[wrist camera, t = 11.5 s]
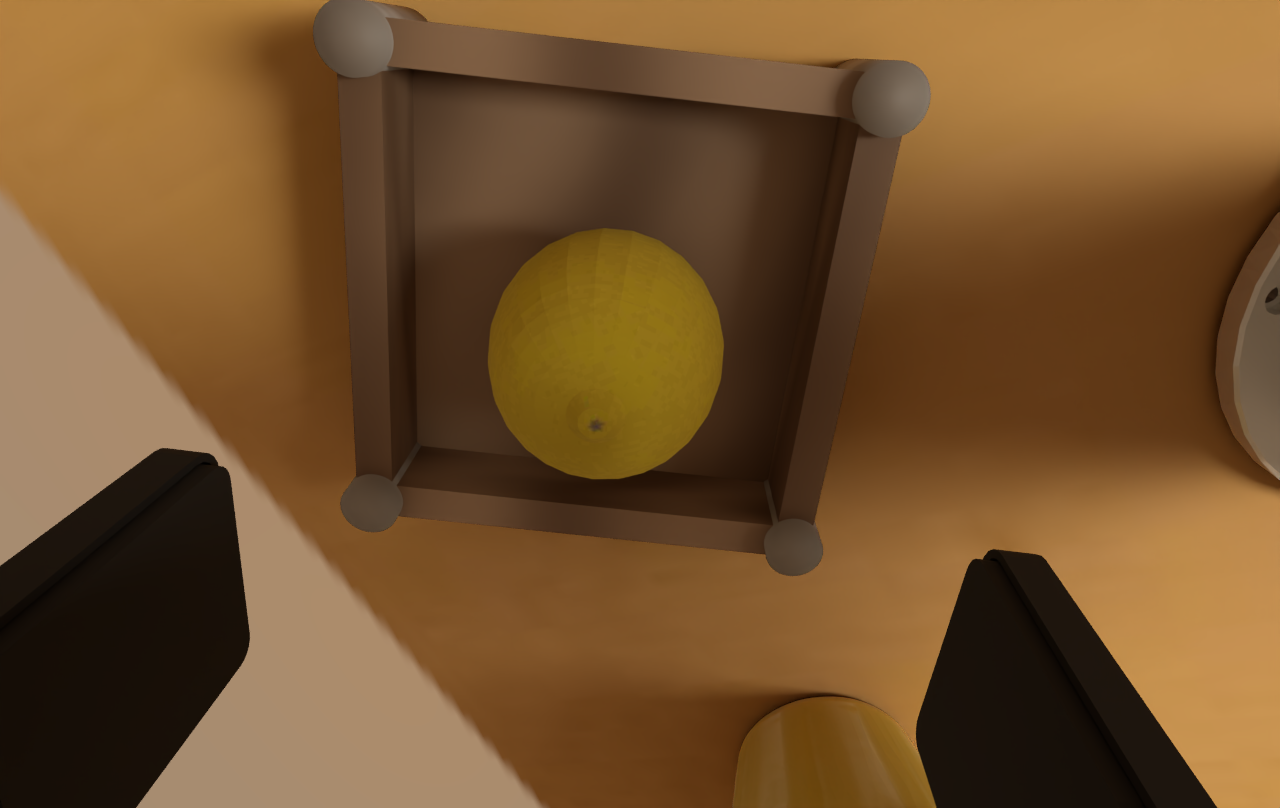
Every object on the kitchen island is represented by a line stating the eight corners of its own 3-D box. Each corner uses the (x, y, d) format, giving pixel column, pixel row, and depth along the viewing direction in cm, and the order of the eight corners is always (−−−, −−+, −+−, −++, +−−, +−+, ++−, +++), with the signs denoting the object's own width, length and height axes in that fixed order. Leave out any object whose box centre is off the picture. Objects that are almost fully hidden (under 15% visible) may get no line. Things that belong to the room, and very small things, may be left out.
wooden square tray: (890, 62, 21) (939, 64, 17) (796, 505, 26) (817, 578, 23) (373, 3, 21) (310, -7, 17) (386, 462, 26) (341, 529, 23)
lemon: (563, 409, 24) (521, 572, 17) (487, 238, 22) (402, 343, 15) (737, 353, 23) (772, 501, 16) (677, 169, 21) (685, 244, 14)
